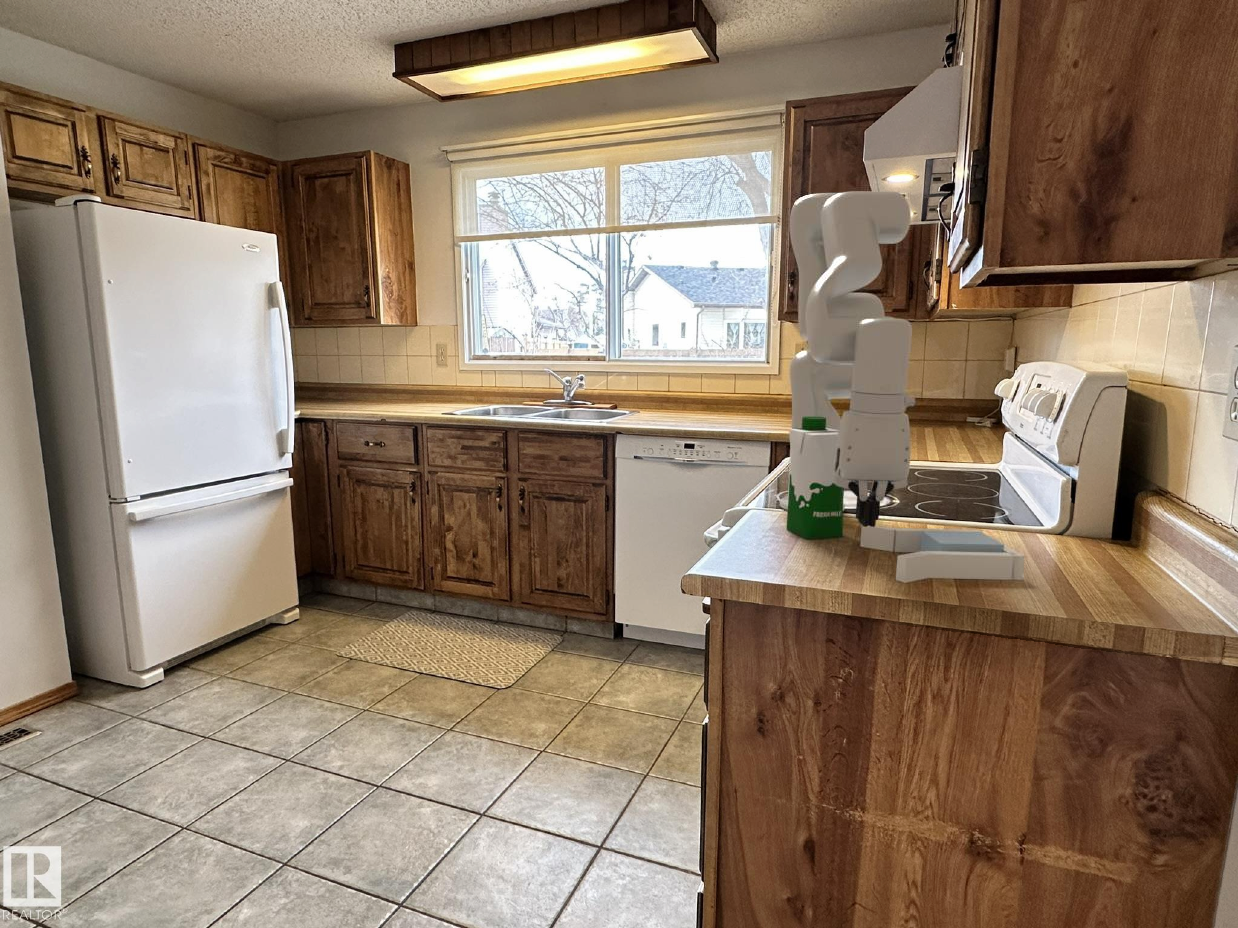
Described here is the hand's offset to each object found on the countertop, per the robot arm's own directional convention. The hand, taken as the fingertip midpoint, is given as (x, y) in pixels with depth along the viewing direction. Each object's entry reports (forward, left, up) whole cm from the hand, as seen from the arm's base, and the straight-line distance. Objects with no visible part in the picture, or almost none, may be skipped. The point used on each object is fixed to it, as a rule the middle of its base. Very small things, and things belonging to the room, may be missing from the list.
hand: (866, 523), depth 105 cm
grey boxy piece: (+2, +14, -6) cm, 15 cm away
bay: (+1, +11, -6) cm, 12 cm away
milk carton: (-15, -4, -6) cm, 16 cm away
